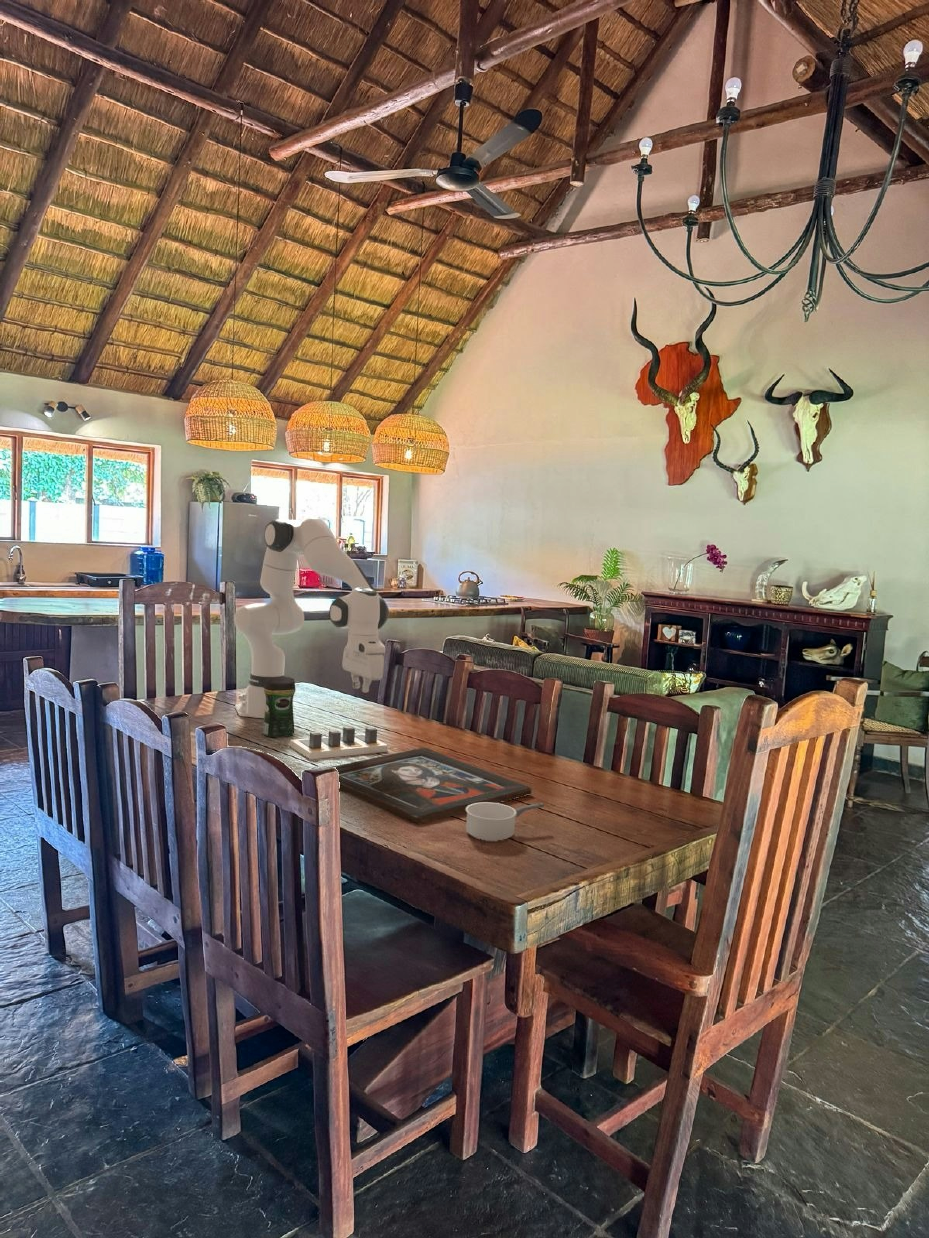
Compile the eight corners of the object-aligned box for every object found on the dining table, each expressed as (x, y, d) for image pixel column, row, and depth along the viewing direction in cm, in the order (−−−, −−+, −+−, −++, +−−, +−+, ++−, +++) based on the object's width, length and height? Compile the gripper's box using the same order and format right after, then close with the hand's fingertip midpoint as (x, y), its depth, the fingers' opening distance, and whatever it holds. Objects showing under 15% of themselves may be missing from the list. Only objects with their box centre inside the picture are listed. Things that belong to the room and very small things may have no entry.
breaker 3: (342, 739, 246) (343, 726, 246) (350, 739, 248) (350, 725, 247) (346, 742, 244) (347, 728, 243) (354, 741, 245) (355, 728, 245)
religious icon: (420, 755, 244) (420, 745, 243) (533, 797, 212) (534, 785, 212) (306, 777, 216) (307, 766, 215) (418, 830, 184) (418, 817, 184)
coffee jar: (289, 730, 262) (291, 674, 260) (296, 736, 255) (299, 678, 254) (259, 732, 257) (261, 675, 256) (266, 738, 251) (268, 679, 249)
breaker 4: (364, 740, 247) (365, 727, 247) (372, 740, 248) (372, 726, 248) (369, 743, 244) (369, 729, 244) (376, 742, 246) (377, 728, 245)
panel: (290, 746, 244) (290, 739, 243) (365, 739, 257) (365, 732, 257) (309, 759, 231) (309, 751, 231) (387, 751, 245) (387, 744, 245)
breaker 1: (309, 745, 237) (309, 731, 237) (317, 745, 238) (317, 731, 238) (313, 748, 235) (313, 734, 234) (321, 747, 236) (321, 733, 236)
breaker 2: (328, 744, 240) (328, 730, 240) (335, 743, 242) (336, 729, 241) (332, 746, 238) (333, 732, 237) (340, 745, 239) (340, 731, 239)
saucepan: (556, 835, 184) (557, 811, 183) (481, 847, 174) (483, 822, 173) (527, 818, 194) (528, 795, 193) (454, 829, 183) (456, 805, 183)
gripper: (338, 638, 244) (336, 684, 245) (368, 648, 227) (366, 697, 228) (357, 638, 248) (355, 683, 249) (388, 648, 231) (385, 696, 232)
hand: (360, 690), depth 239 cm, fingers open, 4 cm apart
